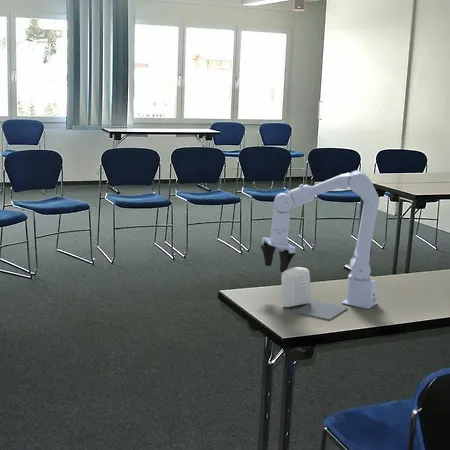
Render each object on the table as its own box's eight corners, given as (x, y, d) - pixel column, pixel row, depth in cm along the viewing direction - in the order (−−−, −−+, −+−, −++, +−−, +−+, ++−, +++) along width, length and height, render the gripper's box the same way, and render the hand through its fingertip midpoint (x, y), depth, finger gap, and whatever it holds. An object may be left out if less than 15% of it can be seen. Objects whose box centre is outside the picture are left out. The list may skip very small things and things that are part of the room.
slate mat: (347, 309, 220) (347, 307, 220) (329, 320, 208) (329, 319, 208) (314, 302, 226) (314, 300, 226) (294, 312, 215) (294, 311, 215)
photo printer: (304, 301, 227) (302, 264, 225) (313, 303, 223) (311, 266, 222) (280, 306, 221) (278, 268, 220) (288, 308, 217) (286, 270, 216)
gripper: (256, 225, 227) (252, 264, 230) (285, 235, 216) (281, 275, 219) (272, 224, 232) (268, 262, 235) (301, 233, 221) (297, 273, 223)
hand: (275, 268), depth 227 cm, fingers open, 7 cm apart
